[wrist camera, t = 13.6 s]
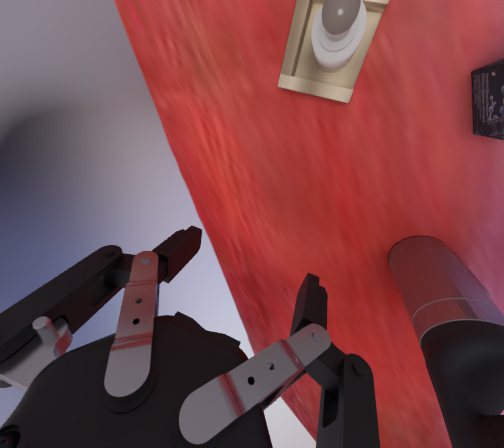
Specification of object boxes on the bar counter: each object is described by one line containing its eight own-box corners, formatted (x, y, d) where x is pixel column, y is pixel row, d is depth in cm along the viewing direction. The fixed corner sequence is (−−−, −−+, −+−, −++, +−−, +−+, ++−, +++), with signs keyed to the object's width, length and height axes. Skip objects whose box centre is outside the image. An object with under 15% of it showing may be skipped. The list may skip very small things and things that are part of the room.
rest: (387, -2, 25) (395, -16, 22) (346, 103, 31) (348, 103, 28) (306, -13, 26) (303, -29, 23) (282, 88, 32) (277, 86, 29)
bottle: (362, 28, 26) (392, -36, 14) (345, 76, 29) (358, 55, 17) (323, 21, 27) (321, -45, 15) (310, 68, 29) (299, 43, 18)
